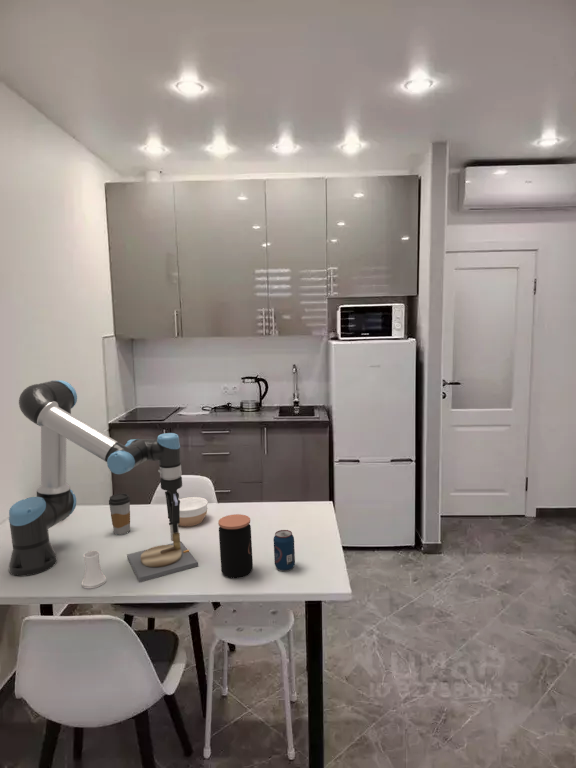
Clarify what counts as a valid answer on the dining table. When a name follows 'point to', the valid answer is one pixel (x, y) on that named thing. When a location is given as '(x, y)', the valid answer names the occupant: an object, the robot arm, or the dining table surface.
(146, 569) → the dial base
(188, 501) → the bowl
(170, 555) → the dial
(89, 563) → the vase
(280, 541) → the soda can
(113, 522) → the coffee cup
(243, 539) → the coffee jar
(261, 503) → the dining table surface
